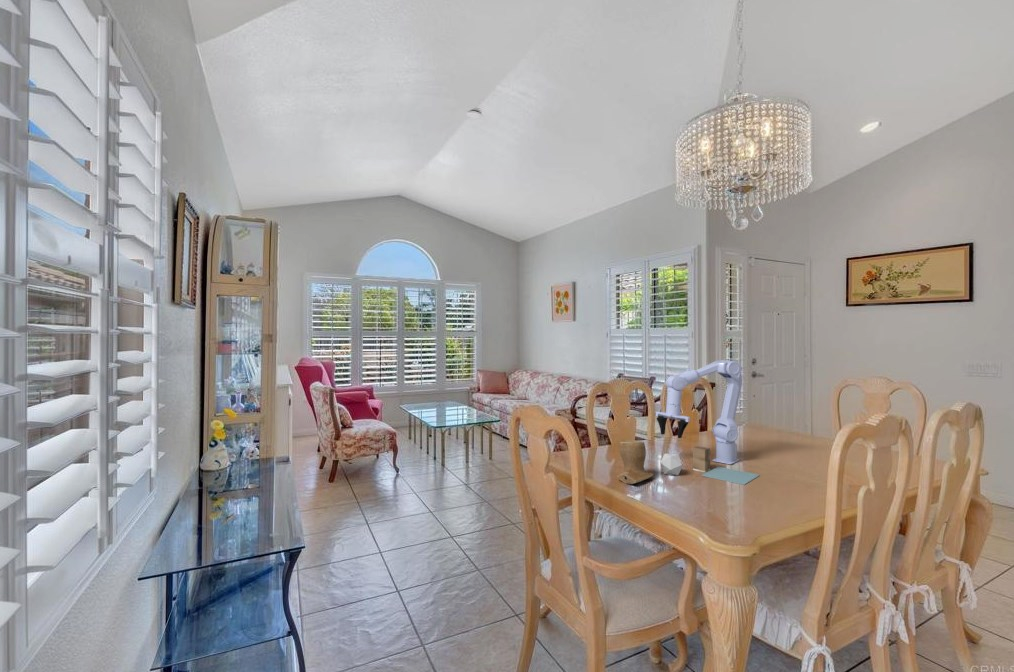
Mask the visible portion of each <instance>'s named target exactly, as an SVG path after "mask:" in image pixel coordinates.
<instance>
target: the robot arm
mask: <svg viewBox="0 0 1014 672" xmlns="http://www.w3.org/2000/svg"><path fill="white" fill-rule="evenodd" d="M742 369H743V367H742V366H741V365H740V363H739V362H738V361H736V360H726V359H718V360H715V361H713V362H710V363H708V364H707V365H704V366H701V367H700V368H698V369H694V368H693V369H692V368H687V369H686V370H685V371H683V372H681V373H680V372H677V373H676V375H669V377H667V379H666V381H664V382H665V384H664V385H665V386H666V388H667V393H666V395H667V396H666V405H665V406H666V407H665V412H664V411H655V417H656V421H657V423H658V426H659V430H660V434H661V435H665V434H666V424H667V420H668V419H671V420H677V431H678V432H677V439H682V437H683V433H684V431H685V429H686V427H688V425H689V423H690V422H691V417H690V416H686V415H682V414H681V407H682V406H681V404H682V394H683V390H684V389H685V387H687V386H689V385H692V384H695V383H697V382H698V381H699V380H700V378H701V377H705V376H707V375H710V374H713V373H717V374H719V375H720V377H721V376H722V377H723V378H724V380H726V382H727V385H726V391H725V395H724V398H723V404H722V410H721V415H720V417H719V418H717V420H716V421H715V424H714V425H713V427H712V429H711V431H712V434H713V436H714V439H715V458H713V459H712V462H715V463H716V462H717V463H720V464H721V463H722V464H725V465H733V464H735V463H737V462H739V461H740V459H739V458H738V446H737V443H736V441H737V439H738V437H739V432H738V423H736V421H735V419H736V414H737V409H738V403H739V400H740V395H741V390H742V385H743V377H742Z"/></svg>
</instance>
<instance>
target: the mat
mask: <svg viewBox="0 0 1014 672" xmlns="http://www.w3.org/2000/svg"><path fill="white" fill-rule="evenodd" d="M701 476H702V477H706V478H711V479H715V480H720V481H724V482H730V483H735V484H738V485H744V486H746V485H747V484H748V483H750V482H752V481H753V480H755V479H756V478H758V477H760V474H757V473H752V472H749V471H748V472H747V471H743V470H739V469H738V470H736V469H732V468H727V467H723V466H717V467H715V468H713V469H710V470H709V471H707V472H703V473H702V474H701Z"/></svg>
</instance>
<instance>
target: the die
mask: <svg viewBox="0 0 1014 672" xmlns="http://www.w3.org/2000/svg"><path fill="white" fill-rule="evenodd" d="M659 463H660V467H661V468H662V471H663V474H664V475H670V476H679V474H680V472H681V470H682V468H683V464H682V461H681V458H680V456H679V454H676V453H668V452H667V453H664V454H663V456H662V457H661V460H660V462H659Z"/></svg>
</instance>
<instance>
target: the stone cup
mask: <svg viewBox="0 0 1014 672" xmlns="http://www.w3.org/2000/svg"><path fill="white" fill-rule="evenodd" d="M646 451H647V450H646V445H645V442H644V441H643V440H622V441H620V442H619V454H620V457H621V460H622V463H623V466H624V470H623V472H621V473H619V474H618V475H617V476H616V477H617V480H619V481H621V482H622V483H624V484H628V485H633V484H637V483H640V482H643V481H645V480H647V479H650V478H652V477H653V476H654V474H653V473H652V472H650V471H646V470H645V461H646V457H647V455H646V454H647V452H646Z"/></svg>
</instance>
